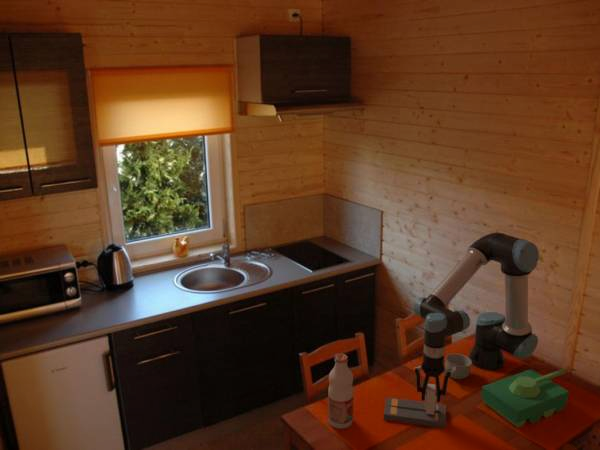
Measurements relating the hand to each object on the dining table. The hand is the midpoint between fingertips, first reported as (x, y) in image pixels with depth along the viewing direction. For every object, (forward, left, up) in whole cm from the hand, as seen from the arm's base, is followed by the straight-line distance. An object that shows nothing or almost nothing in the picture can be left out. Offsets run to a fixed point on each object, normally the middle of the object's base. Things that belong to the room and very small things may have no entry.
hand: (430, 407), depth 206 cm
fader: (0, 0, -1) cm, 1 cm away
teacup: (-11, -30, -4) cm, 32 cm away
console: (+6, 0, -4) cm, 7 cm away
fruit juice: (+33, +10, -4) cm, 35 cm away
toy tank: (-39, -17, -5) cm, 42 cm away
